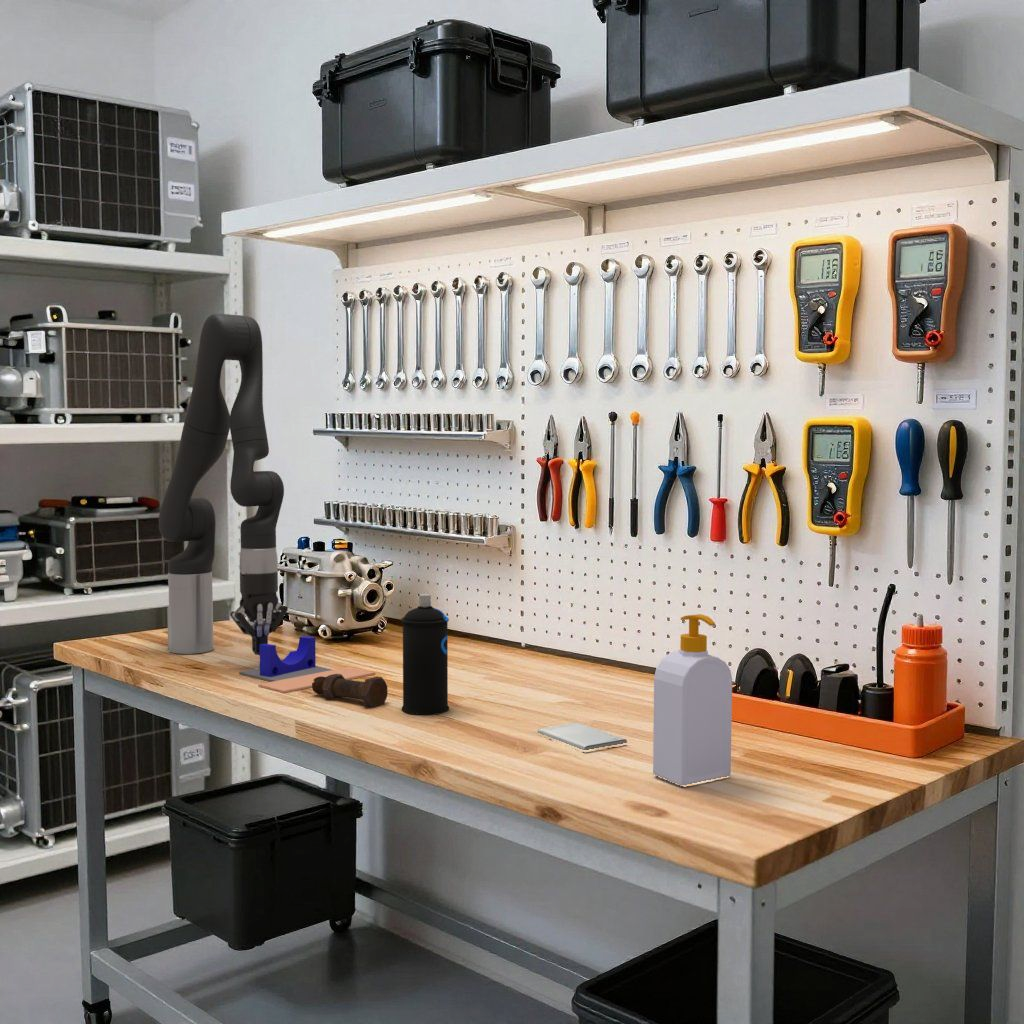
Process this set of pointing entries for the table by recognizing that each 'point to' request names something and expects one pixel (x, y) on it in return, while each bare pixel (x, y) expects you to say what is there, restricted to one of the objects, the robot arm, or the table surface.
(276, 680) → the t mat
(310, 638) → the blue cradle block
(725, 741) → the soap bottle
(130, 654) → the table surface
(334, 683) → the bolt
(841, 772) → the table surface
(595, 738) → the hard drive
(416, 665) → the aerosol can
